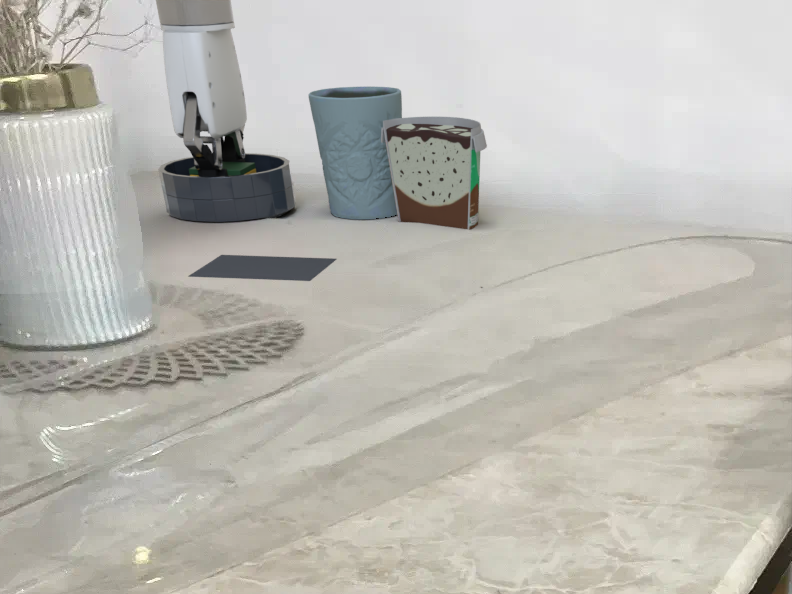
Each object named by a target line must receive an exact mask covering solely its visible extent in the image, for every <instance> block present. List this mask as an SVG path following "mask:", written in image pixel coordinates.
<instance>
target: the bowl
mask: <svg viewBox="0 0 792 594" xmlns="http://www.w3.org/2000/svg"><path fill="white" fill-rule="evenodd" d="M241 160H245V162H248V163H255V169H256V173H252V174H244V175H234V176H214V177H204V176H190V173H189V169H190V168H192V167H194V166H195V164H194V158H193V156H188V157H183V158H179V159H175V160H171V161H168V162H165V163H164V164H161V165H160V166H159V168H158V174H159V175H158V176H159V179H160V184H161V190H162V195H163V199H164V200H163V201H164V205H165V209H166V213H167V214H168V215H169V216H171V217H173V218H177V219H178V220H179V219H180V220H183V221H184V220H185V221H191V222H203V223H205V222H207V223H208V222H209V223H210V222H211V223H222V222H223V223H224V222H226V223H227V222H241V221H249V220H250V221H251V220H258V219H277V218H280V217H282V216H283V215H286V213H287V212H289V211H290V210H292V209H293V208H296V197H295V189H294V183H293V175H292V167H291V161H290V160H289V159H288V158H286V157H283V156H280V155H279V156H278V155H275V154H265V153H256V152H255V153H253V152H251V153H250V152H247V153H246V152H245V158H244V159H241Z"/></svg>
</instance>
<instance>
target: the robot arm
mask: <svg viewBox="0 0 792 594" xmlns="http://www.w3.org/2000/svg"><path fill="white" fill-rule="evenodd" d="M155 4H156V10H157V15H158V20H159V24H160V30H161V31H162V51H163V52H162V53H163V64H164V72H165V73H164V74H165V82H166V88H167V89H166V90H167V96H168V102H169V108H170V115H171V120H172V125H173V126H172V127H173V131H174V134H175V135H176V136H177V137H178V138H180V139H182V141H183V145H184V147H185V148H186V149H187V150H188V151H189V153H190V154H191V157H193V158H194V164H195V167H196V169H197V170H198V176H204V177H214V176H228V174H227V169H222V167H223V163H222V162H245V160H241V159H244V158H245V153H246V149H245V146H244V143H243V142H244V139H245V137H244V129H245V126H246V123H247V120H248V117H247V116H248V114H247V106H246V98H245V91H244V90H245V89H244V85H243V79H242V74H241V69H240V63H239V60H238V59H239V58H238V55H237V50H236V45H235V42H234V38H233V33H232V30H233V29H235V28H236V26H235V19H234V13H233V6H232V0H155ZM202 132H207V134H209V135H210V136H207V135H206V136H202V135H201V133H202ZM208 144H209V145H211V148H210V147H209V145H208Z"/></svg>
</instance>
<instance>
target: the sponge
mask: <svg viewBox="0 0 792 594" xmlns="http://www.w3.org/2000/svg"><path fill="white" fill-rule="evenodd" d="M222 163H223V167H222V169H227V174H228V176H234V175H244V174H252V173H256V169H255V163H248V162H222ZM189 173H190V176H198V170H197V169H196V167H195V166H194V167H192V168H190V169H189Z"/></svg>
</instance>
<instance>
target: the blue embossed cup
mask: <svg viewBox="0 0 792 594" xmlns="http://www.w3.org/2000/svg"><path fill="white" fill-rule="evenodd" d="M402 96H403V95H402V90H401V89H399V88H397V87H390V86H387V87H386V86H345V87H344V86H343V87H330V88H321V89H318V90H313V91H311V92H309V93H308V102H309V106H310V112H311V117H312V120H313V125H314V131H315V136H316V142H317V146H318V153H319V155H320V156H319V157H320V159H321V165H322V173H323V177H324V182H325V187H326V192H327V193H326V194H327V198H328V206H329V211H330V214H331V215H332V216H334V217H337V218H340V219H346V220H347V219H348V220H377V219H376V218H379V219H386V218H385V217H387V218H391V216H392V217H396V216H398V215H397V209H396V203H395V197H394V190H393V184H392V178H391V172H390V166H389V160H388V154H387V147H386V142H383V143H381V128H383V121H385V120H391V119H398V118H403V103H402V99H403V98H402ZM395 215H396V216H395Z"/></svg>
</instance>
